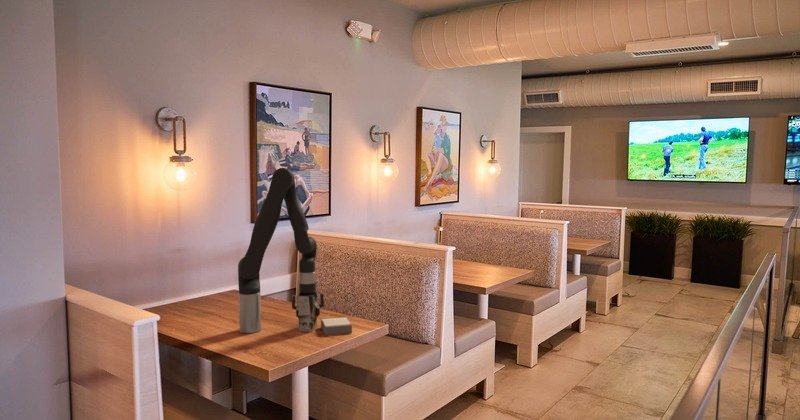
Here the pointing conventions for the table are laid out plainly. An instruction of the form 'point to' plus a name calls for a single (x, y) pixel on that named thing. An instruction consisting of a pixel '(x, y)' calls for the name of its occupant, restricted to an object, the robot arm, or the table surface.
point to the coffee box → (307, 312)
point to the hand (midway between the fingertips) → (308, 317)
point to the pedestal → (336, 326)
